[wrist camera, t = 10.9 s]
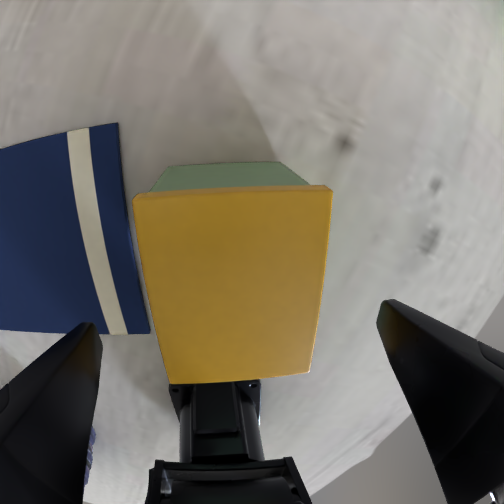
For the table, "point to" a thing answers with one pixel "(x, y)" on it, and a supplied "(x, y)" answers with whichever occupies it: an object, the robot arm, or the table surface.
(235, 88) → the table surface
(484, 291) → the table surface
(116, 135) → the tea towel
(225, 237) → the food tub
